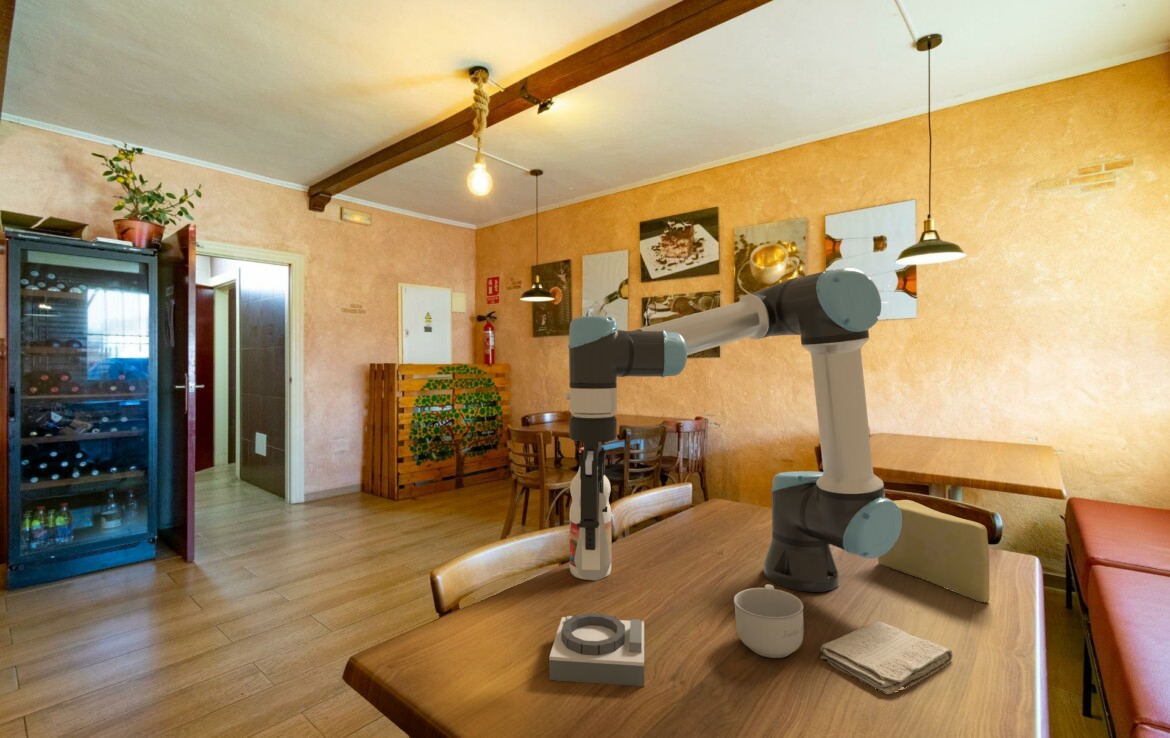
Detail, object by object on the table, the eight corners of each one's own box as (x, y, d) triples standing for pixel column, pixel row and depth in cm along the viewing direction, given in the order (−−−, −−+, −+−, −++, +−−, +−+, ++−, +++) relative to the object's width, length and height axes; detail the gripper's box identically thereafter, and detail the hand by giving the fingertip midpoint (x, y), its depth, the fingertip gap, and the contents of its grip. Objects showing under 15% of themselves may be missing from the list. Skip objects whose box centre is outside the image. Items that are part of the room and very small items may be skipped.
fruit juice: (612, 581, 111) (612, 451, 111) (568, 581, 111) (568, 451, 111) (610, 564, 121) (610, 444, 120) (570, 564, 121) (570, 444, 121)
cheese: (1006, 601, 102) (1006, 525, 102) (968, 607, 99) (968, 529, 99) (908, 559, 123) (909, 497, 123) (875, 564, 121) (875, 500, 120)
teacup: (796, 674, 78) (796, 622, 78) (725, 653, 83) (725, 604, 83) (811, 633, 90) (811, 588, 89) (748, 617, 95) (748, 574, 95)
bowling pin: (607, 584, 78) (607, 499, 78) (571, 581, 79) (571, 497, 79) (613, 569, 84) (613, 489, 84) (579, 566, 85) (579, 488, 85)
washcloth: (815, 661, 82) (815, 642, 82) (878, 630, 91) (878, 613, 91) (892, 704, 72) (892, 681, 72) (954, 664, 81) (954, 644, 81)
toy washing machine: (644, 642, 87) (644, 612, 87) (644, 686, 75) (644, 652, 75) (562, 637, 89) (562, 608, 88) (549, 680, 77) (549, 646, 77)
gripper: (577, 409, 91) (577, 539, 91) (559, 421, 73) (560, 584, 73) (619, 409, 90) (619, 541, 91) (613, 421, 72) (613, 587, 72)
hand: (593, 560), depth 82 cm, fingers closed on bowling pin, 6 cm apart
